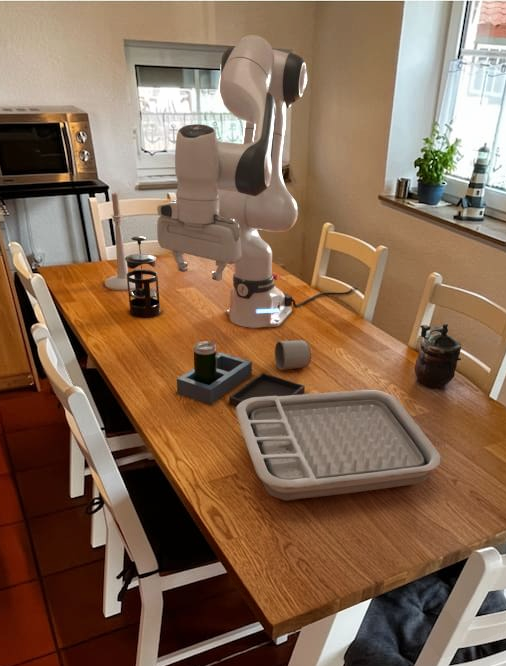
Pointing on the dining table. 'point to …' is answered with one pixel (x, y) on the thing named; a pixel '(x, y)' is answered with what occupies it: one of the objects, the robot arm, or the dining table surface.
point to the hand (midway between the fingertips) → (199, 275)
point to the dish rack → (334, 443)
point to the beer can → (205, 362)
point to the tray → (266, 389)
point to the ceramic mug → (292, 354)
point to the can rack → (222, 385)
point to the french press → (142, 285)
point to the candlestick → (119, 253)
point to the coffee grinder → (437, 357)
